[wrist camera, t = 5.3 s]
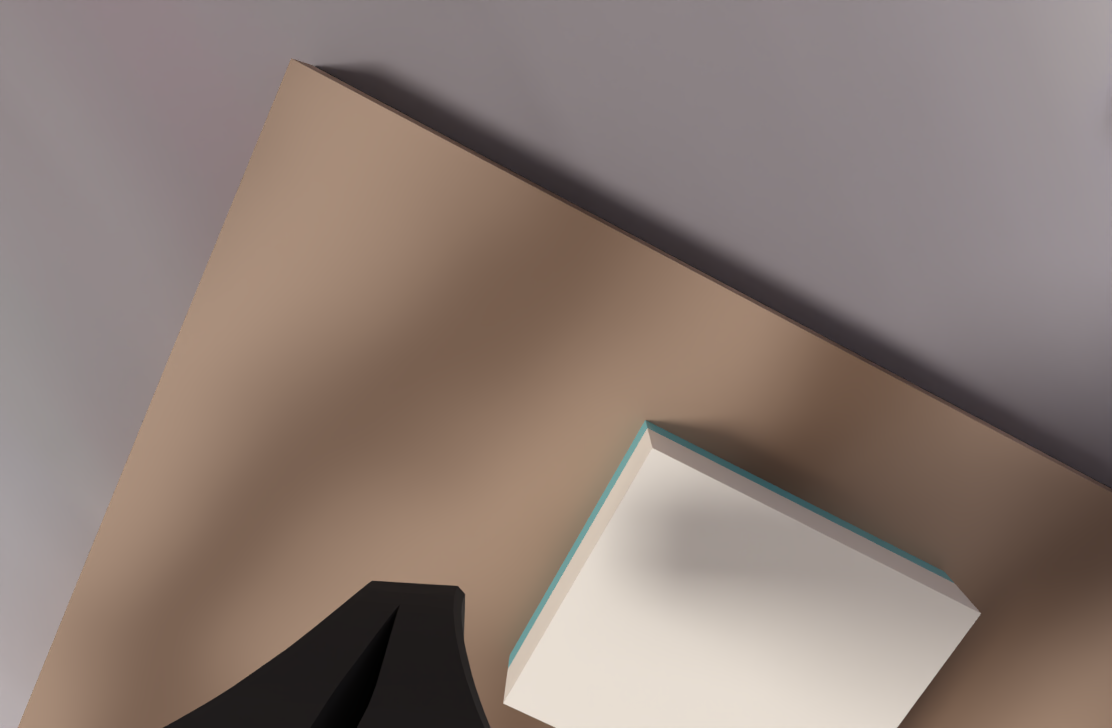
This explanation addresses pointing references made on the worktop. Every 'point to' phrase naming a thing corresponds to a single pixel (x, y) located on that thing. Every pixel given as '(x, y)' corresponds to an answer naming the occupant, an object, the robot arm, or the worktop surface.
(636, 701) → the tile
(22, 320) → the worktop surface
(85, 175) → the worktop surface
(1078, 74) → the worktop surface
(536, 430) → the board
